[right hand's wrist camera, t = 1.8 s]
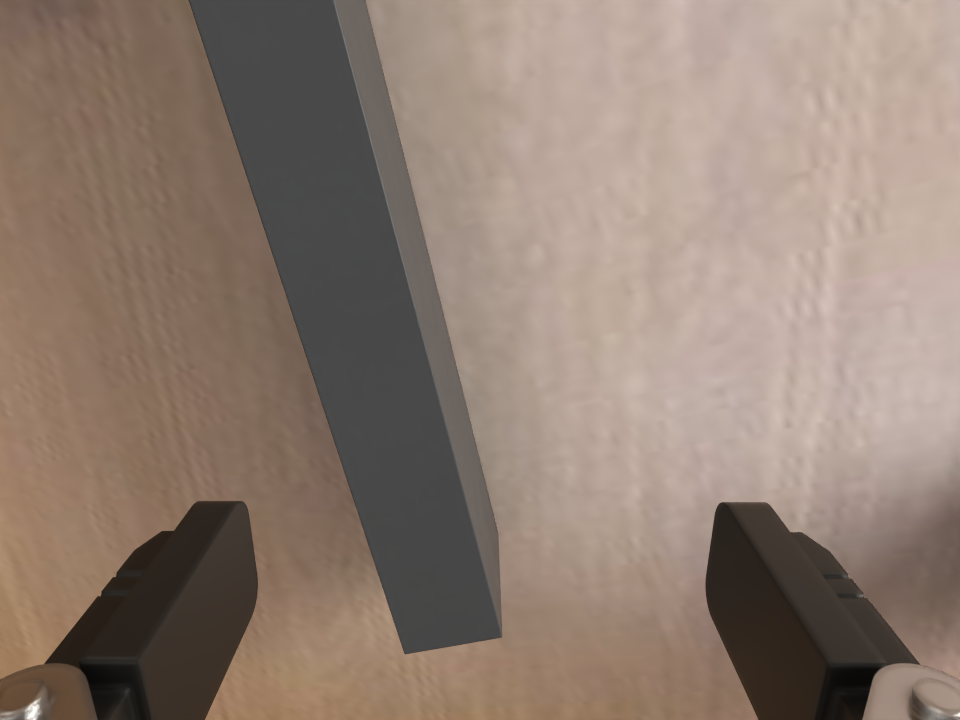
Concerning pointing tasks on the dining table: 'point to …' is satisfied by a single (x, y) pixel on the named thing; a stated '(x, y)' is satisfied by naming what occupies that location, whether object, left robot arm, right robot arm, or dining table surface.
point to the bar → (362, 300)
